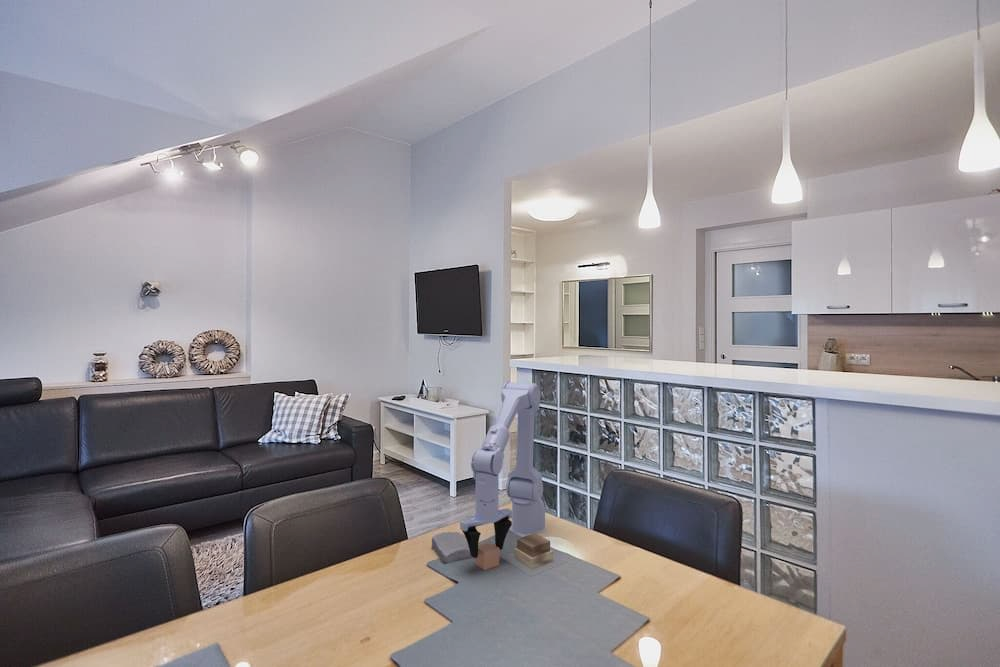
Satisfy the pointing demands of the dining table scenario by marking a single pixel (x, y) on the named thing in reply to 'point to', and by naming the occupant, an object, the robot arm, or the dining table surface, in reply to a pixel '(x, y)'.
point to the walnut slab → (533, 545)
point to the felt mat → (535, 570)
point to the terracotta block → (487, 556)
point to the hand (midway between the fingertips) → (486, 552)
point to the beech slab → (533, 558)
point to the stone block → (451, 546)
